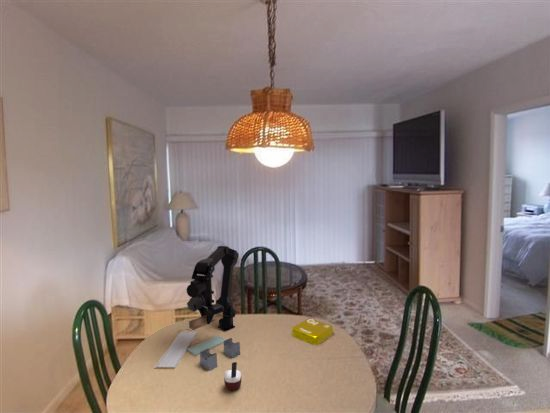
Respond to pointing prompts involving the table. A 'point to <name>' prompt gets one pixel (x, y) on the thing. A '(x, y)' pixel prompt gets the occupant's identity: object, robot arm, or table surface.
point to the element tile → (312, 331)
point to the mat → (206, 345)
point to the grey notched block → (208, 359)
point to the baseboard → (176, 351)
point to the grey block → (231, 348)
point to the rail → (203, 321)
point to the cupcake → (232, 377)
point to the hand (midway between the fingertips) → (206, 323)
